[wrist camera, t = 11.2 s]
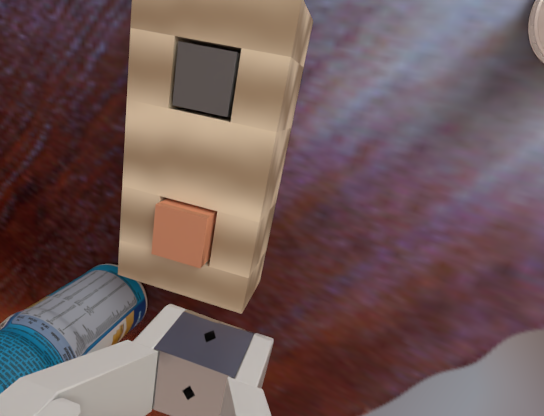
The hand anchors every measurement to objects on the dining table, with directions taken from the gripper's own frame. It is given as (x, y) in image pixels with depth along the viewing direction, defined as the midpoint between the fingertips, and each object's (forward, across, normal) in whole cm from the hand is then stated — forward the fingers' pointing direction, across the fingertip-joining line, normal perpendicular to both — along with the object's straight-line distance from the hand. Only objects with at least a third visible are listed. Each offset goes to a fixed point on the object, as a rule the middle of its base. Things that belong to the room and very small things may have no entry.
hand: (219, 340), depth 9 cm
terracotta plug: (+21, +9, +6) cm, 24 cm away
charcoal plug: (+23, +9, -6) cm, 25 cm away
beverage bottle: (+22, +19, +20) cm, 35 cm away
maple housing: (+23, +9, 0) cm, 25 cm away
